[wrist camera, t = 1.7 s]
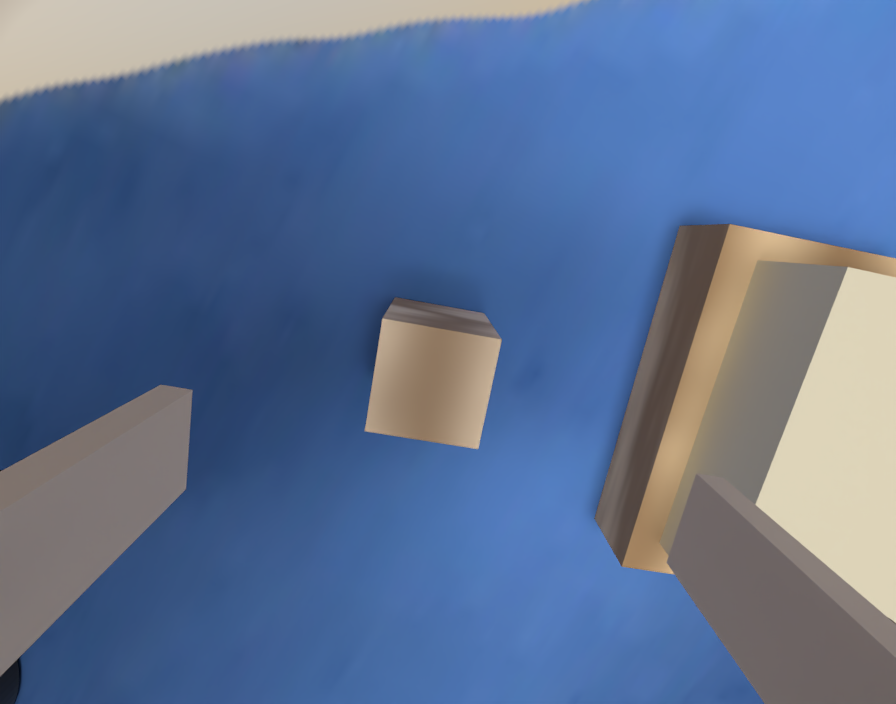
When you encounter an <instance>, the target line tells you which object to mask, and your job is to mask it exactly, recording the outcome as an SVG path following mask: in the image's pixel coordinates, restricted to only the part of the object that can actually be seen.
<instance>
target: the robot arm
mask: <svg viewBox="0 0 896 704" xmlns="http://www.w3.org/2000/svg"><path fill="white" fill-rule="evenodd" d="M191 405H192V390H190V389H184V388H178V387H172V386H166V385H159V386H158V387H156V388H154V389H152V390H150V391H148V392H147V393H145V394H143V395H141V396H139V397H137V398H135V399H134V400H132V401H130V402H128V403H126V404H124V405H123V406H121V407H119V408H117V409H115V410H113V411H111V412H110V413H108V414H106V415H104V416H102V417H100V418H99V419H97V420H95V421H93V422H91V423H89V424H87V425H86V426H84V427H82V428H80V429H78V430H76V431H75V432H73V433H71V434H69V435H67V436H65V437H63V438H62V439H60V440H58V441H56V442H54V443H52V444H50V445H49V446H47V447H45V448H43V449H41V450H39V451H38V452H36V453H34V454H32V455H30V456H28V457H26V458H25V459H23V460H21V461H19V462H17V463H15V464H14V465H12V466H10V467H8V468H6V469H4V470H0V704H14V703H15V700H16V697H17V693H18V688H19V667H18V661H17V659H18V658H19V657H20V656H21V655H22V654H23V653H24V652H25V651H26V650H27V649H28V648H29V647H30V646H31V645H32V644H33V643H34V642H35V641H36V640H37V639H38V638H39V637H40V636H41V635H42V634H43V633H44V632H45V631H46V630H47V629H48V628H49V627H50V626H51V625H52V624H53V623H54V622H55V621H56V620H57V619H58V618H59V617H60V616H61V615H62V614H63V613H64V612H65V611H66V610H67V609H68V608H69V607H70V606H71V605H72V604H73V603H74V602H75V601H76V600H77V599H78V598H79V597H80V596H81V595H82V594H83V593H84V592H85V590H86V589H87V588H88V587H89V586H90V585H91V584H92V583H93V582H94V581H95V580H96V579H97V578H98V577H99V576H100V575H101V574H102V573H103V572H104V571H105V570H106V569H107V568H108V567H109V566H110V565H111V564H112V563H113V562H114V561H115V560H116V559H117V558H118V557H119V556H120V555H121V554H122V553H123V552H124V551H125V550H126V549H127V548H128V547H129V546H130V545H131V544H132V543H133V542H134V541H135V540H136V539H137V538H138V537H139V536H140V535H141V534H142V533H143V532H144V531H145V530H146V529H147V528H148V527H149V526H150V525H151V524H152V523H153V522H154V521H155V520H156V519H157V518H158V517H159V516H160V515H161V514H162V513H163V512H164V511H165V510H166V509H167V508H168V507H169V506H170V505H171V504H172V503H173V502H174V501H175V500H176V499H177V498H178V497H179V496H180V495H181V494H182V493H183V492H184V491H185V490H186V481H187V466H188V451H189V435H190V420H191ZM667 564H668V565H669V567H670V568H671V570H672V571H673V573H674V574H675V575H676V577H677V578H678V580H679V581H680V583H681V584H682V585H683V587H684V588H685V590H686V591H687V593H688V594H689V596H690V597H691V598H692V600H693V601H694V603H695V604H696V606H697V607H698V608H699V610H700V611H701V613H702V614H703V616H704V617H705V619H706V620H707V621H708V623H709V624H710V626H711V627H712V629H713V630H714V631H715V633H716V634H717V636H718V637H719V639H720V640H721V641H722V643H723V644H724V646H725V647H726V649H727V650H728V652H729V653H730V654H731V656H732V657H733V659H734V660H735V662H736V663H737V664H738V666H739V667H740V669H741V670H742V672H743V673H744V674H745V676H746V677H747V679H748V680H749V682H750V683H751V685H752V686H753V687H754V689H755V690H756V692H757V693H758V695H759V696H760V697H761V699H762V700H763V702H764V703H765V704H896V623H895V622H894V621H893V620H891V619H890V618H888V617H887V616H885V615H884V614H883V613H882V612H881V611H880V610H878V609H877V608H876V607H875V606H874V605H873V604H871V603H870V602H869V601H868V600H867V599H865V598H864V597H863V596H862V595H861V594H860V593H858V592H857V591H856V590H855V589H854V588H853V587H851V586H850V585H849V584H848V583H847V582H846V581H844V580H843V579H842V578H841V577H840V576H838V575H837V574H836V573H835V572H834V571H833V570H831V569H830V568H829V567H828V566H827V565H826V564H824V563H823V562H822V561H821V560H820V559H819V558H817V557H816V556H815V555H814V554H813V553H811V552H810V551H809V550H808V549H807V548H806V547H804V546H803V545H802V544H801V543H800V542H799V541H797V540H796V539H795V538H794V537H793V536H791V535H790V534H789V533H788V532H787V531H786V530H784V529H783V528H782V527H781V526H780V525H779V524H777V523H776V522H775V521H774V520H773V519H772V518H770V517H769V516H768V515H767V514H766V513H764V512H763V511H762V510H761V509H760V508H759V507H757V506H756V505H755V504H754V503H753V502H752V501H750V500H749V499H748V498H747V497H746V496H745V495H743V494H742V493H741V492H740V491H739V490H737V489H736V488H735V487H734V486H733V485H732V484H730V483H729V482H728V481H727V480H726V479H725V478H722V477H716V476H710V475H704V474H697V473H696V476H695V479H694V482H693V485H692V488H691V491H690V494H689V497H688V500H687V503H686V506H685V509H684V512H683V515H682V518H681V521H680V524H679V527H678V530H677V533H676V536H675V539H674V542H673V545H672V548H671V551H670V554H669V557H668V560H667Z"/></svg>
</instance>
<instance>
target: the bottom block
mask: <svg viewBox="0 0 896 704" xmlns="http://www.w3.org/2000/svg"><path fill="white" fill-rule="evenodd" d="M757 260H761V261H774V262H788V263H801V264H815V265H828V266H842V267H850V268H855V269H860V270H864V271H869V272H873V273H878V274H882V275H887V276H891V277H896V259H895V258H891V257H886V256H881V255H876V254H871V253H866V252H862V251H857V250H852V249H847V248H842V247H838V246H833V245H828V244H823V243H818V242H814V241H809V240H804V239H799V238H794V237H790V236H785V235H780V234H775V233H770V232H766V231H761V230H756V229H751V228H746V227H742V226H737V225H732V224H717V225H690V226H680V227H679V230H678V234H677V237H676V240H675V244H674V247H673V251H672V254H671V258H670V261H669V265H668V268H667V271H666V275H665V278H664V282H663V285H662V289H661V292H660V295H659V299H658V302H657V306H656V309H655V313H654V316H653V319H652V323H651V326H650V330H649V333H648V337H647V340H646V343H645V347H644V350H643V354H642V357H641V361H640V364H639V367H638V371H637V374H636V378H635V381H634V385H633V388H632V391H631V395H630V398H629V402H628V405H627V409H626V412H625V416H624V419H623V422H622V426H621V429H620V433H619V436H618V440H617V443H616V446H615V450H614V453H613V457H612V460H611V464H610V467H609V470H608V474H607V477H606V481H605V484H604V488H603V491H602V494H601V498H600V501H599V505H598V508H597V512H596V515H595V518H594V519H595V520H596V522H597V524H598V526H599V527H600V529H601V531H602V533H603V534H604V536H605V538H606V540H607V541H608V543H609V545H610V547H611V548H612V550H613V552H614V554H615V555H616V557H617V559H618V561H619V562H620V564H621V566H622V567H628V568H635V569H642V570H649V571H655V572H662V573H669V574H674V573H673V571H672V570H671V568H670V567H669V565H668V564H667V560H668V557H669V556H668V554H667V553H666V551H665V550H664V549H663V547H662V546H661V545H660V540H661V537H662V534H663V531H664V528H665V525H666V522H667V520H668V517H669V514H670V511H671V508H672V505H673V502H674V499H675V497H676V494H677V491H678V488H679V485H680V482H681V479H682V476H683V473H684V471H685V468H686V465H687V462H688V459H689V456H690V453H691V450H692V448H693V445H694V442H695V439H696V436H697V433H698V430H699V427H700V425H701V422H702V419H703V416H704V413H705V410H706V407H707V404H708V401H709V399H710V396H711V393H712V390H713V387H714V384H715V381H716V378H717V376H718V373H719V370H720V367H721V364H722V361H723V358H724V355H725V353H726V350H727V347H728V344H729V341H730V338H731V335H732V332H733V329H734V327H735V324H736V321H737V318H738V315H739V312H740V309H741V306H742V304H743V301H744V298H745V295H746V292H747V289H748V286H749V283H750V281H751V278H752V275H753V272H754V269H755V266H756V263H757Z"/></svg>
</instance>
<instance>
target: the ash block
mask: <svg viewBox="0 0 896 704" xmlns="http://www.w3.org/2000/svg"><path fill="white" fill-rule="evenodd" d="M501 341H502V339H501V338H500V336H499V335H498V333H497V332H496V330H495V329H494V327H493V326H492V324H491V323H490V321H489V320H488V318H487V317H486V315H485V314H484V313H480V312H474V311H469V310H463V309H458V308H452V307H447V306H441V305H436V304H430V303H424V302H419V301H413V300H408V299H402V298H397V297H395V298H394V300H393V302H392V303H391V305H390V307H389V308H388V310H387V312H386V313H385V315H384V317H383V318H382V324H381V331H380V337H379V343H378V350H377V356H376V363H375V369H374V376H373V382H372V388H371V395H370V401H369V408H368V414H367V420H366V427H365V431H367V432H373V433H380V434H386V435H392V436H398V437H405V438H411V439H417V440H424V441H430V442H436V443H443V444H449V445H455V446H461V447H468V448H474V449H478V447H479V443H480V438H481V433H482V429H483V424H484V420H485V415H486V410H487V406H488V401H489V396H490V392H491V387H492V382H493V378H494V373H495V369H496V364H497V359H498V355H499V350H500V345H501Z"/></svg>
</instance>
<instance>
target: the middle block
mask: <svg viewBox="0 0 896 704" xmlns="http://www.w3.org/2000/svg"><path fill="white" fill-rule="evenodd" d="M696 473H697V474H704V475H710V476H716V477H722V478H725V479H726V480H727V481H728V482H729V483H730V484H732V485H733V486H734V487H735V488H736V489H737V490H739V491H740V492H741V493H742V494H743V495H745V496H746V497H747V498H748V499H749V500H750V501H752V502H753V503H754V504H755V505H756V506H757V507H759V508H760V509H761V510H762V511H763V512H764V513H766V514H767V515H768V516H769V517H770V518H772V519H773V520H774V521H775V522H776V523H777V524H779V525H780V526H781V527H782V528H783V529H784V530H786V531H787V532H788V533H789V534H790V535H791V536H793V537H794V538H795V539H796V540H797V541H799V542H800V543H801V544H802V545H803V546H804V547H806V548H807V549H808V550H809V551H810V552H811V553H813V554H814V555H815V556H816V557H817V558H819V559H820V560H821V561H822V562H823V563H824V564H826V565H827V566H828V567H829V568H830V569H831V570H833V571H834V572H835V573H836V574H837V575H838V576H840V577H841V578H842V579H843V580H844V581H846V582H847V583H848V584H849V585H850V586H851V587H853V588H854V589H855V590H856V591H857V592H858V593H860V594H861V595H862V596H863V597H864V598H865V599H867V600H868V601H869V602H870V603H871V604H873V605H874V606H875V607H876V608H877V609H878V610H880V611H881V612H882V613H883V614H884V615H885V616H887V617H888V618H890V619H891V620H893V621H894V622H895V623H896V277H891V276H887V275H882V274H878V273H873V272H869V271H864V270H860V269H855V268H850V267H842V266H828V265H815V264H801V263H788V262H774V261H761V260H757V263H756V266H755V269H754V272H753V275H752V278H751V281H750V283H749V286H748V289H747V292H746V295H745V298H744V301H743V304H742V306H741V309H740V312H739V315H738V318H737V321H736V324H735V327H734V329H733V332H732V335H731V338H730V341H729V344H728V347H727V350H726V353H725V355H724V358H723V361H722V364H721V367H720V370H719V373H718V376H717V378H716V381H715V384H714V387H713V390H712V393H711V396H710V399H709V401H708V404H707V407H706V410H705V413H704V416H703V419H702V422H701V425H700V427H699V430H698V433H697V436H696V439H695V442H694V445H693V448H692V450H691V453H690V456H689V459H688V462H687V465H686V468H685V471H684V473H683V476H682V479H681V482H680V485H679V488H678V491H677V494H676V497H675V499H674V502H673V505H672V508H671V511H670V514H669V517H668V520H667V522H666V525H665V528H664V531H663V534H662V537H661V540H660V545H661V546H662V547H663V549H664V550H665V551H666V553H667V554H668V556H669V554H670V551H671V548H672V545H673V542H674V539H675V536H676V533H677V530H678V527H679V524H680V521H681V518H682V515H683V512H684V509H685V506H686V503H687V500H688V497H689V494H690V491H691V488H692V485H693V482H694V479H695V476H696Z"/></svg>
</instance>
